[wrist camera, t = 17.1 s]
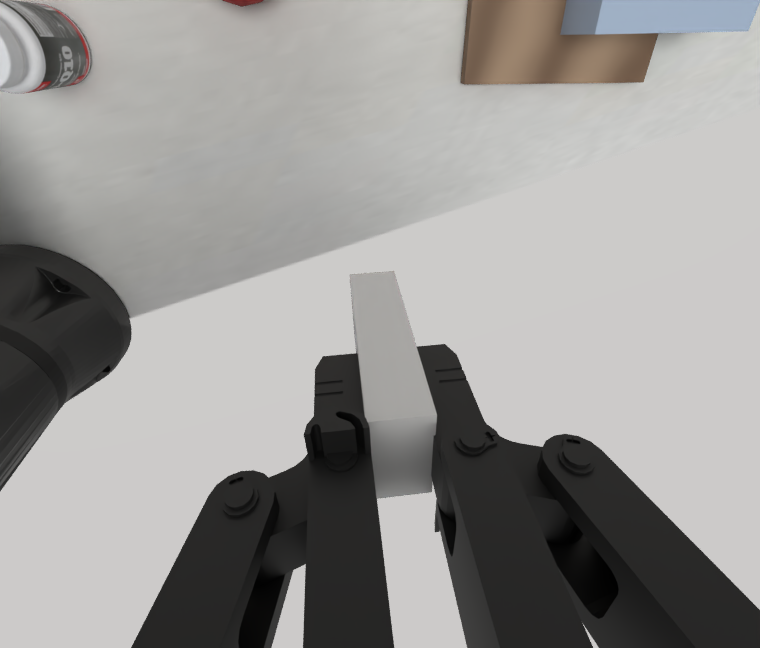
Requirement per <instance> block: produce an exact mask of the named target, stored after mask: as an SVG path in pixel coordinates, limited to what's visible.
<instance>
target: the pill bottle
mask: <svg viewBox="0 0 760 648" xmlns="http://www.w3.org/2000/svg"><path fill="white" fill-rule="evenodd" d="M90 64H91V56H90V50H89V47H88V44H87V42H86V40H85V38H84V36H83V34H82V33H81V31H80V30H79V29H78V27H77V26H76V25H75V24H74V22H73V21H72V20H71V19H69V18H68V17H67V16H66V15H65V14H63V13H62V12H60V11H59V10H57V9H55V8H53V7H50V6H47V5H43V4H37V3H29V2H20V1H12V0H0V91H4V92H8V93H29V92H35V91H40V90H46V89H52V88H58V87H64V86H70V85H74V84H77V83H79V82H80V81H82V80H83V79H84V78H85V77H86V76H87V74H88V72H89V69H90Z"/></svg>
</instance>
